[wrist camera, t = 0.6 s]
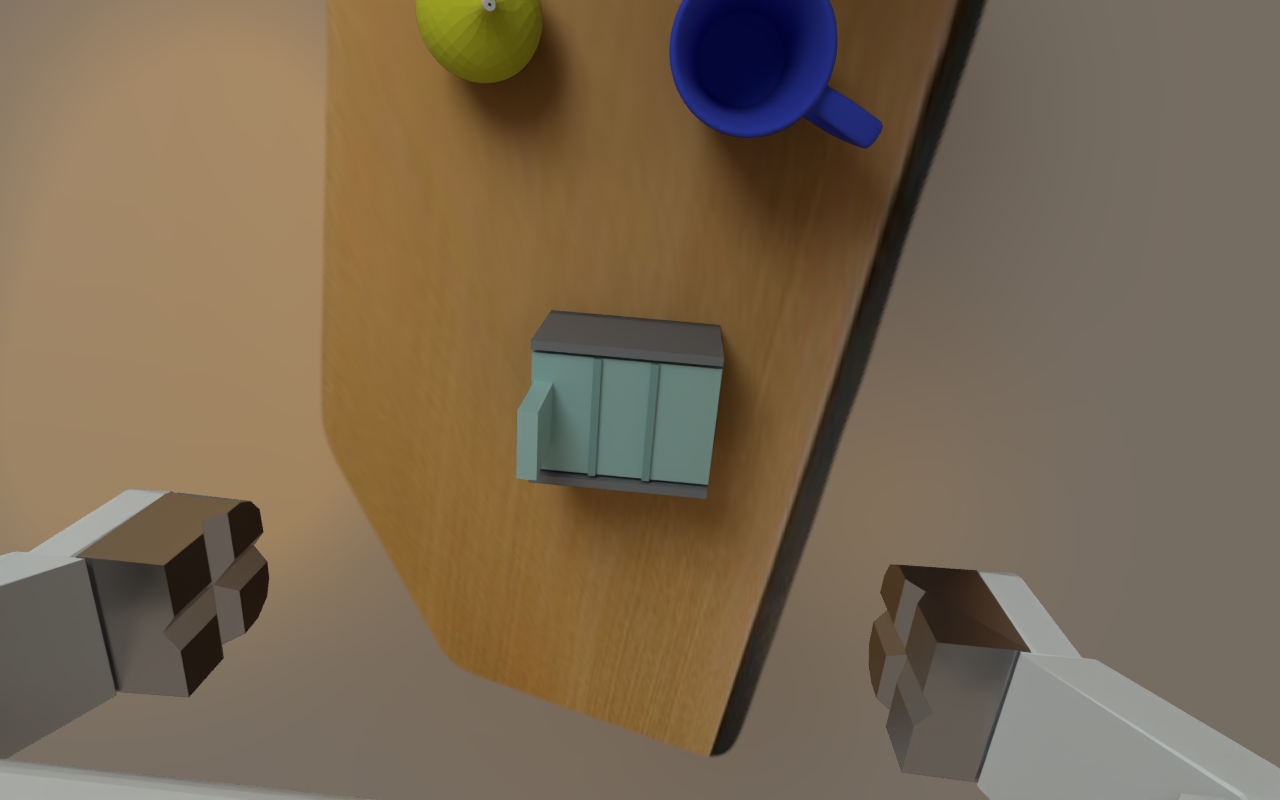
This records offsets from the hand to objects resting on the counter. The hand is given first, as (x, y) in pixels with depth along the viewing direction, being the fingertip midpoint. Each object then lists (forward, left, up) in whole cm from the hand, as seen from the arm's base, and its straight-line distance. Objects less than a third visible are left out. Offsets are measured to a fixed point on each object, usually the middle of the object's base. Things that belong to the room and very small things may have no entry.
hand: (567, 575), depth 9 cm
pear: (-10, -11, -42) cm, 44 cm away
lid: (+13, -1, -36) cm, 38 cm away
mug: (-8, +6, -42) cm, 43 cm away
